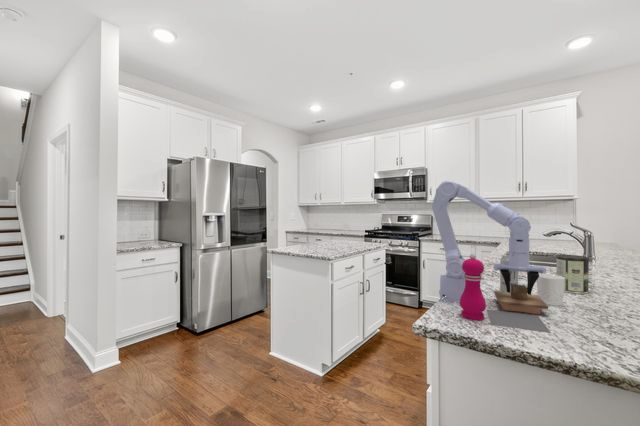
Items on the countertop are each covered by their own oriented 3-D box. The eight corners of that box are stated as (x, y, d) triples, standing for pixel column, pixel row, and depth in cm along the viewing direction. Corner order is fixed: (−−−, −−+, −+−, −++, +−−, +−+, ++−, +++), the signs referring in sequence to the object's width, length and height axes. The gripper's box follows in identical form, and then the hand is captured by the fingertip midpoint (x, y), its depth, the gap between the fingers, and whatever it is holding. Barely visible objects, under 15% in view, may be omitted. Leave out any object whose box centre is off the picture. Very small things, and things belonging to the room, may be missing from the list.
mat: (490, 326, 85) (490, 324, 85) (486, 311, 98) (486, 309, 98) (551, 335, 80) (551, 332, 80) (538, 317, 92) (538, 315, 92)
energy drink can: (501, 294, 117) (501, 256, 117) (498, 290, 122) (499, 254, 122) (519, 296, 114) (520, 257, 114) (516, 292, 120) (516, 255, 120)
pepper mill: (475, 324, 87) (476, 256, 87) (454, 316, 93) (454, 253, 93) (491, 320, 90) (491, 254, 90) (469, 312, 97) (469, 251, 96)
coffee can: (573, 287, 127) (574, 254, 127) (595, 294, 117) (596, 258, 117) (549, 287, 127) (549, 254, 127) (569, 294, 117) (569, 258, 117)
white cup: (569, 308, 100) (570, 279, 100) (543, 307, 102) (543, 278, 102) (556, 301, 108) (556, 274, 108) (532, 300, 109) (532, 273, 109)
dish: (503, 311, 98) (503, 302, 98) (499, 302, 107) (499, 294, 107) (540, 315, 94) (540, 306, 94) (532, 306, 103) (533, 297, 103)
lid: (498, 303, 97) (498, 288, 96) (494, 293, 108) (494, 279, 108) (548, 309, 91) (548, 293, 91) (537, 297, 103) (537, 283, 103)
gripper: (495, 252, 99) (495, 293, 100) (548, 255, 93) (548, 298, 93) (493, 250, 106) (492, 288, 106) (542, 252, 100) (542, 292, 100)
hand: (518, 292), depth 100 cm, fingers open, 5 cm apart
